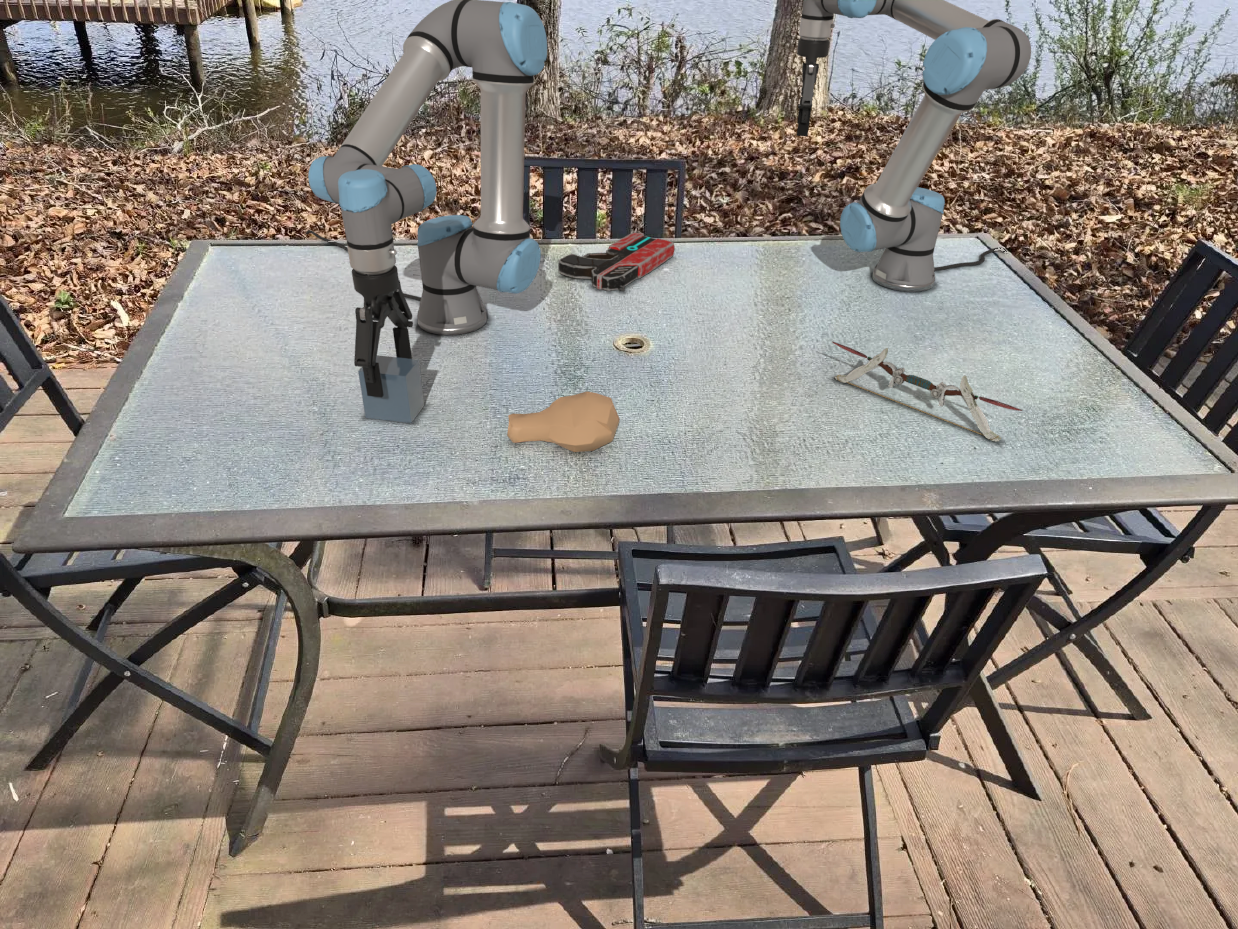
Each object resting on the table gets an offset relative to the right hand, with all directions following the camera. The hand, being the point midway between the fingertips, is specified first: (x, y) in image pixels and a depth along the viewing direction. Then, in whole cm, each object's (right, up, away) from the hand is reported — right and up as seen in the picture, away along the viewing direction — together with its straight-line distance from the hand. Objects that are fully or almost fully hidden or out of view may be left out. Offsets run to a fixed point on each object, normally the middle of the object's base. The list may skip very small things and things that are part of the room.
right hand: (802, 129), depth 224 cm
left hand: (-89, -70, -64) cm, 130 cm away
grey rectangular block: (-89, -76, -60) cm, 131 cm away
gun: (-47, -35, +3) cm, 59 cm away
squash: (-57, -82, -68) cm, 120 cm away
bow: (+10, -75, -55) cm, 93 cm away
